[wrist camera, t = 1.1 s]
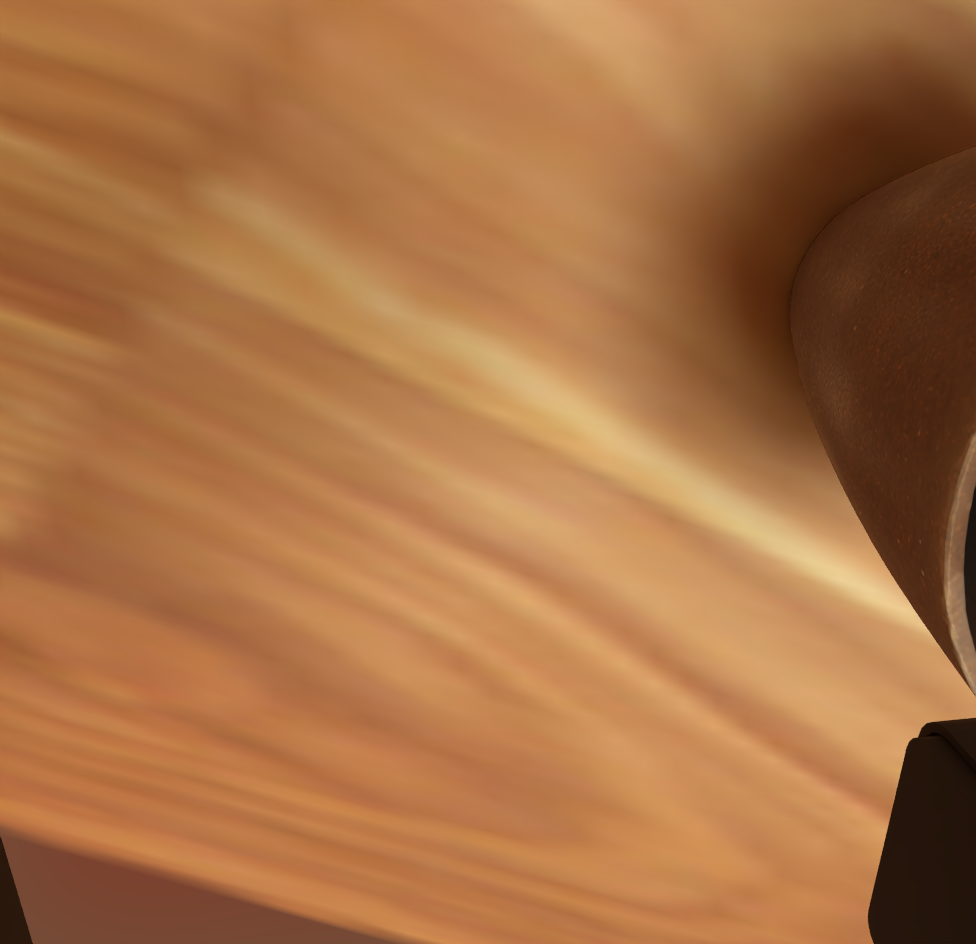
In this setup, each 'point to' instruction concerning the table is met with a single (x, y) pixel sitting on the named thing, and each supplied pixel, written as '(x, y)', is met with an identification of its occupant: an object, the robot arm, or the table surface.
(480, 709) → the table surface
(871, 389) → the plant pot
